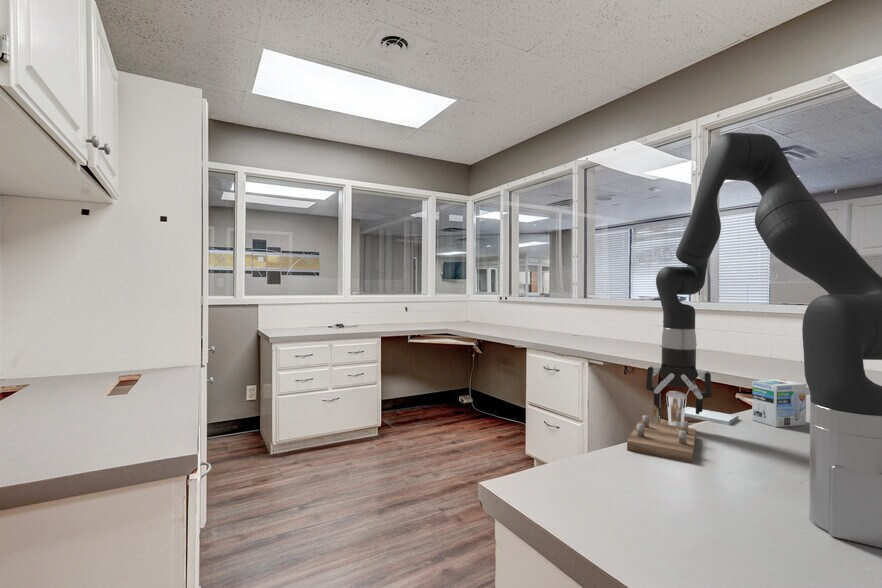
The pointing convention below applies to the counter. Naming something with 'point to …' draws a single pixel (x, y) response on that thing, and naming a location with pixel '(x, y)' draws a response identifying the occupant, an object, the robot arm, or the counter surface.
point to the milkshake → (676, 407)
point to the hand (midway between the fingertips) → (677, 410)
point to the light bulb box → (779, 402)
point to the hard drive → (711, 416)
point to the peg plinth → (663, 440)
